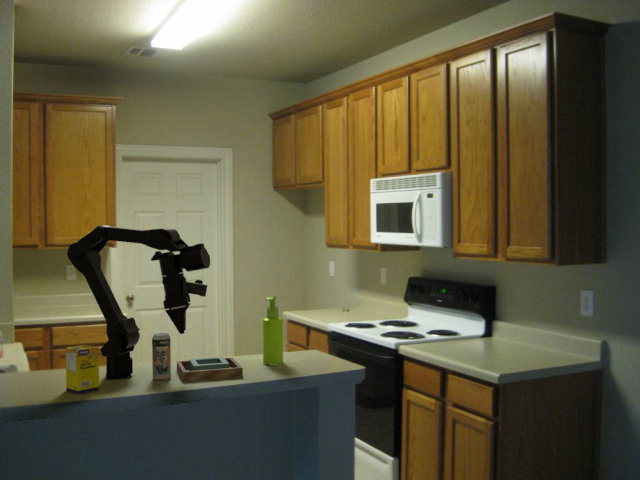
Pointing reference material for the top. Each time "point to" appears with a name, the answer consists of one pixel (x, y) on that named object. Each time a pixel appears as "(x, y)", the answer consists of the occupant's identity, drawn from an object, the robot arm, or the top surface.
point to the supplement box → (82, 369)
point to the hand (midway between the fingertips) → (183, 332)
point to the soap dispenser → (272, 335)
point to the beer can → (161, 356)
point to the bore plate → (208, 363)
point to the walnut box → (209, 371)
